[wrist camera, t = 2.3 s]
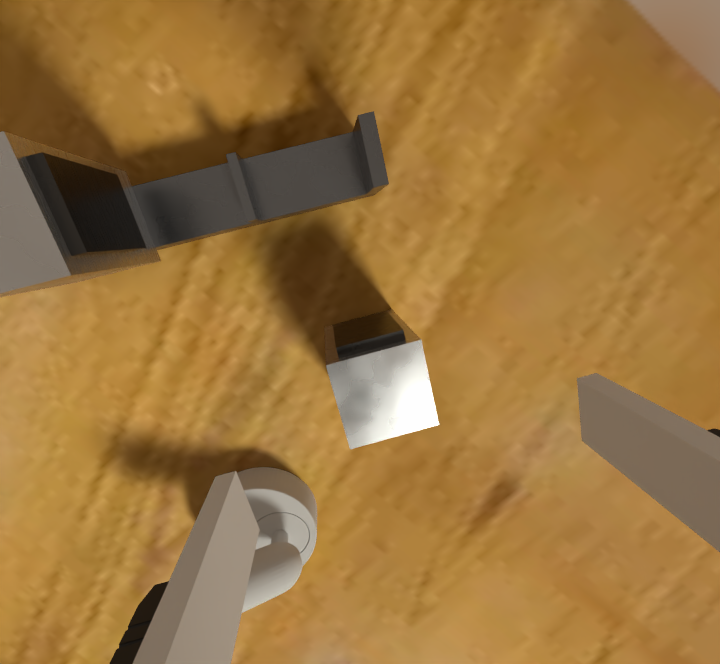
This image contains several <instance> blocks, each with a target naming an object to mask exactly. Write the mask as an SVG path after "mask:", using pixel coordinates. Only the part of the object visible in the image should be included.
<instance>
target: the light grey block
mask: <svg viewBox="0 0 720 664" xmlns="http://www.w3.org/2000/svg"><path fill="white" fill-rule="evenodd" d="M324 330H325V356H326V368H327V371H328V374H329V378H330V381H331V385H332V388H333V392H334V395H335V398H336V402H337V405H338V409H339V412H340V416H341V419H342V423H343V426H344V429H345V433H346V436H347V440H348V443H349V447H350V449H353V448H357V447H360V446H364V445H367V444H371V443H375V442H378V441H382V440H385V439H389V438H393V437H396V436H400V435H403V434H407V433H411V432H414V431H418V430H421V429H425V428H429V427H432V426H436V425H439V423H438V418H437V413H436V408H435V404H434V399H433V394H432V389H431V384H430V380H429V375H428V370H427V365H426V360H425V356H424V351H423V346H422V341H421V339H420V338H419V337H418V336H417V335H416V334H415V333H414V332H413V331H412V330H411V329H410V328H409V327H408V325H407V324H406V323H405V322H404V321H403V320H402V319H401V318H400V317H399V316H398V315H397V314H396V313H395V312H394V311H393V310H392V309H391V310H387V311H383V312H379V313H376V314H372V315H368V316H364V317H361V318H357V319H353V320H349V321H346V322H342V323H338V324H334V325H330V326H327V327H324Z"/></svg>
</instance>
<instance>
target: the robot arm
mask: <svg viewBox="0 0 720 664" xmlns="http://www.w3.org/2000/svg"><path fill="white" fill-rule="evenodd" d="M577 385H578V397H579V410H580V422H581V435H582V441H583V442H584V443H586V444H587V445H588V446H589V447H591V448H592V449H593V450H594V451H595V452H597V453H598V454H599V455H600V456H602V457H603V458H604V459H605V460H607V461H608V462H609V463H610V464H612V465H613V466H614V467H615V468H616V469H618V470H619V471H620V472H621V473H623V474H624V475H625V476H626V477H628V478H629V479H630V480H631V481H632V482H634V483H635V484H636V485H637V486H639V487H640V488H641V489H642V490H644V491H645V492H646V493H647V494H649V495H650V496H651V497H652V498H653V499H655V500H656V501H657V502H658V503H660V504H661V505H662V506H663V507H665V508H666V509H667V510H668V511H670V512H671V513H672V514H673V515H674V516H676V517H677V518H678V519H679V520H681V521H682V522H683V523H684V524H686V525H687V526H688V527H689V528H691V529H692V530H693V531H694V532H695V533H697V534H698V535H699V536H700V537H702V538H703V539H704V540H705V541H707V542H708V543H709V544H710V545H712V546H713V547H714V548H715V549H716V550H718V551H719V552H720V430H718V429H711V430H705V429H703V428H701V427H699V426H697V425H695V424H693V423H691V422H690V421H688V420H686V419H684V418H682V417H680V416H678V415H676V414H674V413H672V412H670V411H668V410H666V409H665V408H663V407H661V406H659V405H657V404H655V403H653V402H651V401H649V400H647V399H645V398H643V397H641V396H640V395H638V394H636V393H634V392H632V391H630V390H628V389H626V388H624V387H622V386H620V385H618V384H616V383H614V382H613V381H611V380H609V379H607V378H605V377H603V376H601V375H599V374H597V373H595V374H591V375H588V376H584V377H580V378H577ZM259 530H260V529H259V527H258V524H257V522H256V519H255V517H254V514H253V512H252V509H251V507H250V504H249V502H248V499H247V497H246V495H245V492H244V490H243V487H242V485H241V482H240V480H239V477H238V475H237V472H236V471H233V472H230V473H226V474H222V475H219V476H215V479H214V481H213V483H212V485H211V488H210V490H209V492H208V494H207V497H206V499H205V501H204V503H203V506H202V508H201V510H200V512H199V515H198V517H197V519H196V522H195V524H194V526H193V528H192V531H191V533H190V535H189V537H188V540H187V542H186V544H185V546H184V549H183V551H182V553H181V555H180V558H179V560H178V562H177V564H176V567H175V569H174V571H173V573H172V576H171V578H170V580H169V581H168V582H164V583H161V584H157V585H154V587H153V588H152V589H151V590H150V592H149V593H148V594H147V595H146V597H145V598H144V599H143V600H142V602H141V603H140V604H139V605H138V607H137V609H136V611H135V613H134V615H133V617H132V619H131V621H130V623H129V625H128V630H127V631H126V632H125V634H124V636H123V638H122V640H121V642H120V644H119V649H117V650H116V652H115V654H114V656H113V658H112V660H111V662H110V664H231V660H232V655H233V651H234V646H235V641H236V637H237V632H238V627H239V623H240V618H241V613H242V609H243V604H244V600H245V595H246V590H247V586H248V581H249V576H250V572H251V567H252V562H253V558H254V553H255V549H256V544H257V539H258V535H259Z"/></svg>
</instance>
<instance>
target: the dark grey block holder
mask: <svg viewBox="0 0 720 664" xmlns="http://www.w3.org/2000/svg"><path fill="white" fill-rule="evenodd" d="M226 157H227V160H228V163H225V164H221V165H217V166H213V167H209V168H205V169H200V170H196V171H192V172H188V173H184V174H180V175H176V176H172V177H168V178H164V179H160V180H156V181H152V182H148V183H144V184H140V185H135V186H131V184H130V181H129V178H128V176H127V173H126V171H123V170H120V169H117V168H114V167H111V166H108V165H105V164H102V163H99V162H96V161H93V160H90V159H87V158H84V157H81V156H78V155H75V154H72V153H69V152H66V151H63V150H59V149H56V148H53V147H50V146H47V145H44V144H41V143H38V142H35V141H32V140H29V139H26V138H23V137H20V136H17V135H14V134H11V133H8V132H5V131H3V132H0V297H4V296H9V295H14V294H19V293H25V292H30V291H35V290H40V289H45V288H51V287H56V286H61V285H66V284H71V283H76V282H80V281H84V280H88V279H92V278H96V277H100V276H104V275H108V274H112V273H116V272H120V271H124V270H128V269H131V268H135V267H139V266H143V265H147V264H151V263H155V262H159V261H161V260H160V257H159V255H158V252H157V250H159V249H163V248H167V247H171V246H175V245H179V244H183V243H187V242H191V241H195V240H199V239H203V238H207V237H211V236H215V235H219V234H223V233H227V232H231V231H234V230H238V229H242V228H246V227H250V226H254V225H258V224H262V223H266V222H270V221H274V220H278V219H282V218H286V217H290V216H294V215H298V214H302V213H306V212H310V211H313V210H317V209H321V208H325V207H329V206H333V205H337V204H341V203H345V202H349V201H353V200H357V199H361V198H365V197H369V196H373V195H375V194H376V193H377V192H379V191H380V190H381V189H383V188H384V187H385V186H387V185H388V184H389V182H388V178H387V173H386V168H385V163H384V158H383V153H382V149H381V144H380V139H379V134H378V129H377V125H376V120H375V115H374V111H373V112H369V113H365V114H361V115H358V117H357V120H356V123H355V126H354V130H353V132H351V133H347V134H343V135H339V136H335V137H330V138H326V139H322V140H318V141H314V142H310V143H306V144H302V145H298V146H294V147H290V148H286V149H282V150H278V151H274V152H270V153H265V154H261V155H257V156H253V157H249V158H245V159H242V158H241V157H240V156H239V155H238V154H237V153H236V152H234V153H230V154H226Z"/></svg>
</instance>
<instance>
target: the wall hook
mask: <svg viewBox="0 0 720 664" xmlns="http://www.w3.org/2000/svg"><path fill="white" fill-rule="evenodd" d="M237 475H238V477H239V480H240V482H241V485H242V487H243V490H244V492H245V495H246V497H247V499H248V502H249V504H250V507H251V509H252V512H253V514H254V517H255V519H256V522H257V524H258V527H259V529H260V530H259V535H258V539H257V544H256V549H255V553H254V558H253V562H252V567H251V572H250V576H249V581H248V586H247V590H246V595H245V600H244V604H243V609H242V613H243V612H245V611H247V610H249V609H251V608H253V607H255V606H257V605H259V604H262V603H264V602H266V601H268V600H270V599H272V598H274V597H276V596H278V595H280V594H282V593H284V592H286V591H287V590H289V589H290V588H291V587H292V586H293V585H294V584H295V583H296V581H297V580H298V578H299V576H300V574H301V570H302V566H303V565H304V564H305V563H306V562H307V560H308V559H309V558H310V556H311V554H312V552H313V550H314V547H315V544H316V538H317V505H316V501H315V498H314V495H313V493H312V491H311V490H310V488H309V487H308V486H307V485H306V484H305V483H304V482H303V481H302V480H301V479H300V478H298V477H297V476H295V475H293V474H292V473H289V472H287V471H284V470H281V469H277V468H270V467H257V468H251V469H246V470H243V471H240V472H238V473H237Z"/></svg>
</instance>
